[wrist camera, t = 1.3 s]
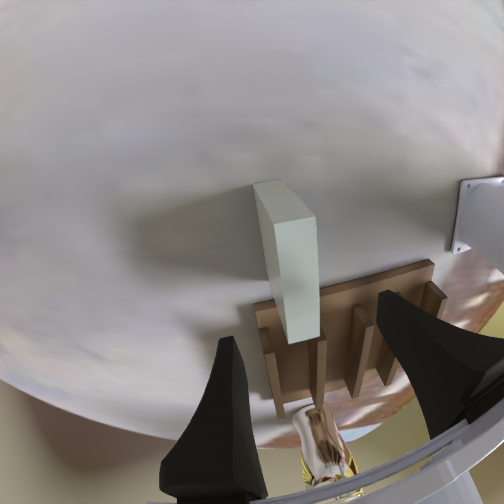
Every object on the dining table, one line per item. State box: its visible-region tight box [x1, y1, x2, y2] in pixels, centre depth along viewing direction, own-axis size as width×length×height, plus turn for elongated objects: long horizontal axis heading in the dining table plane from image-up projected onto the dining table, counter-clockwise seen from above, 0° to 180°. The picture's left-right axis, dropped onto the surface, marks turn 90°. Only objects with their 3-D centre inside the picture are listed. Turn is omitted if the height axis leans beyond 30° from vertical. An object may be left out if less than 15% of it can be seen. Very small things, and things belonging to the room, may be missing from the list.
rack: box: [253, 259, 448, 419], centre depth 26 cm, size 18×16×4 cm
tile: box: [253, 179, 320, 344], centre depth 18 cm, size 2×8×7 cm, turn 10°
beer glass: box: [292, 403, 365, 504], centre depth 29 cm, size 7×7×15 cm
